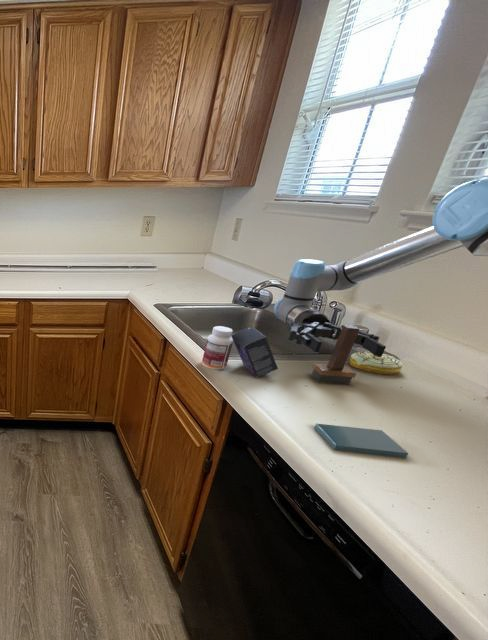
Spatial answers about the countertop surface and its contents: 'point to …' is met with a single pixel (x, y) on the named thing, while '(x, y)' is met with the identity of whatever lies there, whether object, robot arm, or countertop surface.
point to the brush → (338, 360)
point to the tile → (360, 440)
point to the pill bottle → (218, 348)
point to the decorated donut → (375, 363)
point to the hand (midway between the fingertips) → (349, 349)
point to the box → (254, 351)
